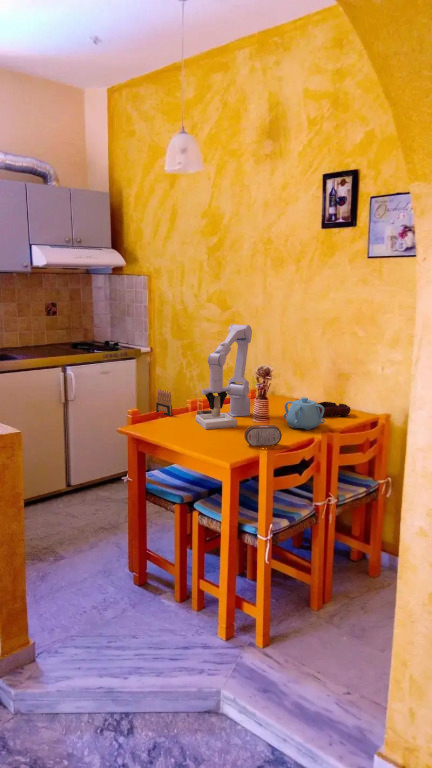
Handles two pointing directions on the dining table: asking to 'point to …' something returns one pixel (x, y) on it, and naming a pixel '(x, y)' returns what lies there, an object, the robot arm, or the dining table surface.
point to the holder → (204, 412)
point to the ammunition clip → (164, 402)
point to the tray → (216, 421)
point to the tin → (263, 435)
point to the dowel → (216, 407)
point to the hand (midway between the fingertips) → (216, 408)
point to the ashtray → (334, 409)
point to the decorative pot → (304, 414)
